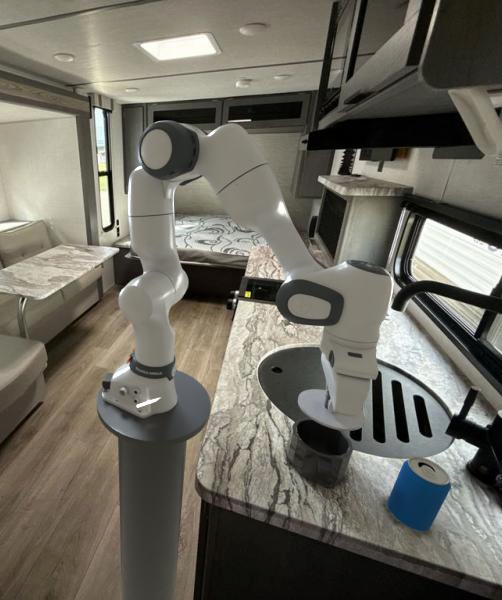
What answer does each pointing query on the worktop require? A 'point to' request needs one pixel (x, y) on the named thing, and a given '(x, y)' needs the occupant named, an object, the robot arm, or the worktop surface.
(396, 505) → the beverage can
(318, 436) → the pot
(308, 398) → the pot lid
